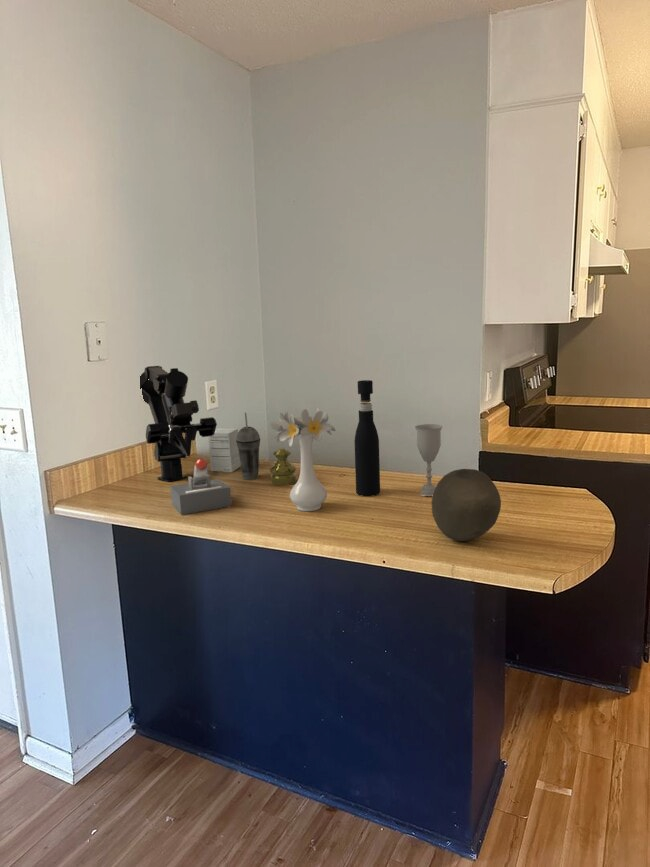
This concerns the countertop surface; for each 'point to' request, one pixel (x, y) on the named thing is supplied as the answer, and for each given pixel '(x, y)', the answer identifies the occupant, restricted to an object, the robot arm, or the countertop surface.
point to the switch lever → (200, 472)
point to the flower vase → (304, 455)
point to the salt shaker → (283, 469)
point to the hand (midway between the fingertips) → (188, 455)
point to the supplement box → (224, 450)
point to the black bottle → (366, 445)
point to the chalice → (428, 450)
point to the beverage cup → (248, 451)
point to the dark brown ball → (465, 504)
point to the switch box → (200, 496)
